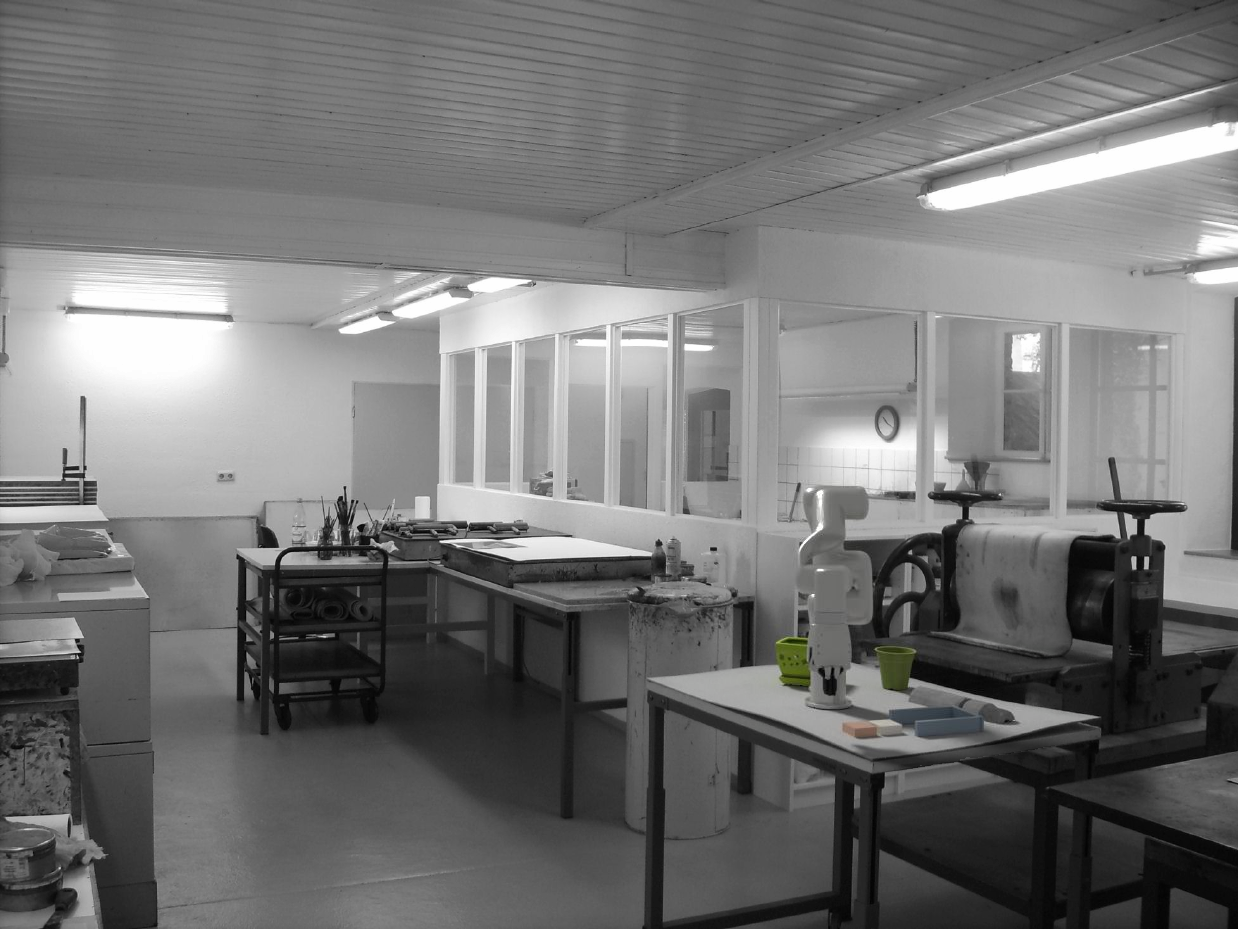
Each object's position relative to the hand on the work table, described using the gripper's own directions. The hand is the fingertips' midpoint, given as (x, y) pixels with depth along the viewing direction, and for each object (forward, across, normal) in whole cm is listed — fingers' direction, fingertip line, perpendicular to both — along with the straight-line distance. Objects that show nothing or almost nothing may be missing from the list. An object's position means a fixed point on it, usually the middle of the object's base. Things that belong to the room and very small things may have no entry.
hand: (829, 694), depth 258 cm
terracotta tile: (+10, -8, -1) cm, 13 cm away
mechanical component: (+10, -46, -15) cm, 50 cm away
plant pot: (+9, -44, -45) cm, 64 cm away
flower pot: (+9, -22, -59) cm, 63 cm away
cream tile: (+10, -16, -1) cm, 19 cm away
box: (+10, -30, -1) cm, 31 cm away
